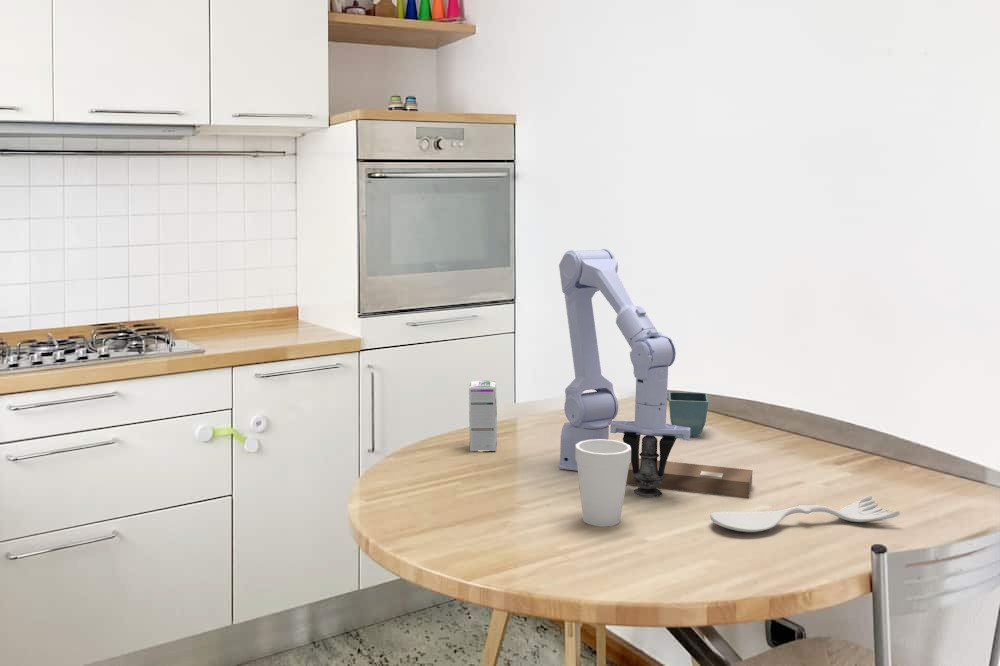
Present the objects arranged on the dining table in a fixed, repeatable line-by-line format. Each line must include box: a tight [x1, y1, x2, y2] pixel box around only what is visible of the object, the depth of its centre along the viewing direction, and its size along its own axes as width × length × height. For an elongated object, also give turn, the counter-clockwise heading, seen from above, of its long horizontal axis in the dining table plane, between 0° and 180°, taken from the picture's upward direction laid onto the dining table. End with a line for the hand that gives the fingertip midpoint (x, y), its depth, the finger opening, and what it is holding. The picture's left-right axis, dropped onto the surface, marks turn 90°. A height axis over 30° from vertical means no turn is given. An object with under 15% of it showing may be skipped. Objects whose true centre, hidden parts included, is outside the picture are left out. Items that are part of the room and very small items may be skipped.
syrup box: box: [468, 380, 498, 452], centre depth 202 cm, size 6×6×14 cm
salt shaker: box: [633, 435, 664, 499], centre depth 174 cm, size 6×6×12 cm
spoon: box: [709, 495, 901, 533], centre depth 159 cm, size 9×32×4 cm, turn 101°
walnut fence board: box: [626, 457, 753, 499], centre depth 180 cm, size 24×8×3 cm, turn 71°
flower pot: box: [668, 391, 709, 438], centre depth 216 cm, size 9×9×9 cm
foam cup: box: [575, 439, 631, 528], centre depth 160 cm, size 10×9×13 cm
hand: (648, 473), depth 174 cm, fingers closed on salt shaker, 4 cm apart
